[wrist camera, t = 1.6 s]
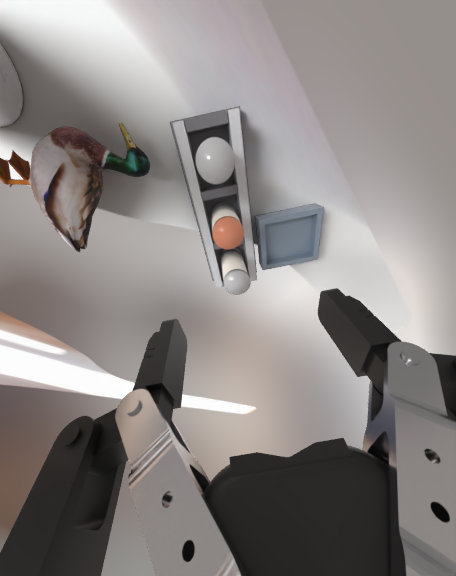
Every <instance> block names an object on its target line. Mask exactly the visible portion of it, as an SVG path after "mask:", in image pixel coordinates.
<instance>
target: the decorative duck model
mask: <svg viewBox="0 0 456 576" xmlns="http://www.w3.org/2000/svg"><path fill="white" fill-rule="evenodd" d="M119 127H120V129H121V132H122V134H123V137H124V139H125V142H126V145H127V156H126V159H122V158H120V157H118V156H116V155H115V154H113V153H112V152H110V151H109V150H108V149H106V148H105V147H103V146H102V145H101V144H100V143H98V142H97V141H96V140H94V139H93V138H92V137H90V136H89V135H87V134H86V133H84V132H82V131H80V130H78V129H76V128H72V127H60V128H57V129H55V130H53V131H52V132H50V133H49V134H47V135H46V136H45V137H44V138H42V139H41V140H40V141H39V142H38V143H37V145H36V147H35V148H34V150H33V152H32V159H31V168H30V165H29V162H28V161H25V160H23V159H22V158H21V157H19V156H18V155H17V154H16V153H15V152H14V151H13V150H12V151H13V152H12V156H11V158H10V160H9V161H8V160H6V161H5V160H3V159H1V158H0V179H1V180H2V182H3V183H4V184H10V187H11V186H12V185H13V184H23V185H31V187H32V190H33V193H34V196H35V199H36V201H37V203H38V205H39V206H40V208H41V210H42V211H43V213H44V214H45V216H46V217H47V219H48V220H49V222H50V223H51V224H52V226H53V227H54V228H55V230H56V231H57V232H58V233H59V234H60V236H61V237H62V238H63V239H64V240H65V241H66V242H67V243H68V244H69V245H70V246H71V247H72V248H74V249H75V250H76V251H78V252H80V248H81V249H85V246H86V247H87V240H88V235H89V231H90V226H91V222H92V216H93V213H94V211H95V209H96V207H97V205H98V202H99V200H100V197H101V193H102V187H103V179H102V170H104V169H112V170H116V171H118V172H121V173H124V174H127V175H130V176H133V177H141V176H144V175H146V174H147V173H148V171H149V169H150V162H149V159H148V157H147V156H146V155H145V153H144V152H143V151H142V150H140V149H139V148H138V147H137V146H136V145H135V144H134V142H133V141H132V140H131V138H130V136H129V134H128V133H127V131H126V129H125V127H124V126H123V124H122V123H120V122H119ZM8 162H9V163H10V165H11V166H12V167H13V168H14V169H15V170H16V171H17V173H18V174H19V175H20V176H21V177H22V178H23V179H24V180H14V179H11V177H10V170H9V164H8Z"/></svg>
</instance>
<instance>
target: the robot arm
mask: <svg viewBox="0 0 456 576" xmlns="http://www.w3.org/2000/svg"><path fill="white" fill-rule="evenodd" d="M22 107H23V94H22V88H21V84H20V81H19V78H18V75H17V72H16V70H15V68H14V66H13V64H12V62H11V60H10V58H9V56H8V54H7V53H6V51H5V50H4V48H3V47H2V45H1V43H0V127H3V126H7V125H10V124H12V123H13V122H15V121H16V120H17V118H18V117H19V116H20V113H21V110H22ZM318 317H319V320H320V322H321V323H322V325H323V326H324V328H325V329H326V331H327V332H328V334H329V335H330V337H331V338H332V340H333V341H334V343H335V344H336V345H337V347H338V348H339V350H340V352H341V353H342V355H343V356H344V357H345V359H346V360H347V362H348V363H349V365H350V366H351V368H352V369H353V371H354V372H355V374H356V375H357V377H360V376H366V375H367V376H368V377H369V379H370V380H371V381H370V385H369V403H368V420H367V427H366V431H365V435H364V440H363V450H360V449H358V448H354V447H351V446H347V444H346V442H345V440H344V438H340V439H334V440H329V441H323V442H316V443H314V444H312V445H310V446H308V447H307V448H305V449H303V450H301V451H300V452H298V453H296V454H294V455H293V456H291V457H280V456H275V455H269V454H263V453H251V454H245V455H239V456H234V457H230V465H228V466H226V467H225V468H224V469H222V470H221V471H220V472H219V473H218V474H217V475H216V476H215V477H214V478H213V480H212V481H211V482H210V480H209V478H208V477H207V475H206V473H205V472H204V470H203V468H202V467H201V465H200V464H199V462H198V461H197V460H196V458H195V457H194V455H193V454H192V452H191V451H190V449H189V447H188V445H187V443H186V442H185V440H184V438H183V437H182V435H181V433H180V431H179V430H178V428H177V426H176V425H175V423H174V421H173V419H172V413H173V409H175V408H180V407H181V400H182V391H183V380H184V372H185V362H186V352H187V340H186V336H185V334H184V332H183V330H182V328H181V326H180V323H179V321H178V320H177V319H173V320H167V321H163V322H162V324H161V328H160V331H159V332H155V333H154V334H153V336H152V337H151V338H150V340H149V342H148V344H147V348H146V352H145V354H144V359H143V360H142V363H141V367H140V370H139V373H138V376H137V379H136V382H135V386H134V388H133V391H132V392H130V393H129V394H128V395H126V396H125V397H124V398H123V400H122V401H121V402H120V404H119V406H118V408H116V409H114V410H113V411H111V412H109V413H107V414H105V415H103V416H101V417H99V418H97V419H95V420H94V419H92V418H91V417H88V416H82V417H79V418H77V419H75V420H74V421H72V422H71V423H69V424H68V425H67V426H66V427H65V428H64V429H63V430H62V432H61V433H60V434H59V436H58V437H57V439H56V441H55V442H54V444H53V446H52V449H51V450H50V453H49V455H48V457H47V459H46V461H45V463H44V465H43V467H42V469H41V471H40V473H39V475H38V477H37V479H36V481H35V483H34V485H33V487H32V489H31V491H30V493H29V495H28V498H27V500H26V502H25V504H24V506H23V508H22V510H21V512H20V514H19V516H18V518H17V520H16V522H15V524H14V526H13V528H12V530H11V532H10V534H9V536H8V538H7V540H6V542H5V544H4V546H3V549H2V550H1V552H0V576H101V572H102V568H103V563H104V559H105V554H106V550H107V545H108V540H109V536H110V531H111V527H112V523H113V518H114V514H115V509H116V505H117V500H118V496H119V491H120V487H121V482H122V477H123V473H124V469H125V464H126V461H128V460H129V463H130V466H131V473H130V474H129V477H128V481H129V487H130V491H131V494H132V497H133V501H134V504H135V508H136V511H137V514H138V518H139V521H140V524H141V527H142V531H143V534H144V537H145V541H146V544H147V548H148V551H149V554H150V557H151V561H152V564H153V567H154V571H155V574H156V576H456V356H452V355H442V354H432V353H428V352H427V351H426V350H424V349H422V348H421V347H419V346H417V345H414V344H411V343H407V342H402V341H401V340H399V339H398V338H397V337H396V336H395V335H394V334H393V333H392V332H391V331H390V330H389V329H388V328H387V327H386V326H385V325H384V324H383V323H382V322H381V321H380V320H379V319H378V318H377V317H376V316H374V314H372V313H371V312H370V311H369V310H367V308H366V307H365V306H364V305H363V304H362V303H361V302H360V301H358V300H356V299H355V298H353V297H351V296H345V295H344V294H343V293H342V292H341V291H340V290H339V289H337V288H336V289H331V290H325V291H322V292H321V294H320V301H319V307H318Z"/></svg>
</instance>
